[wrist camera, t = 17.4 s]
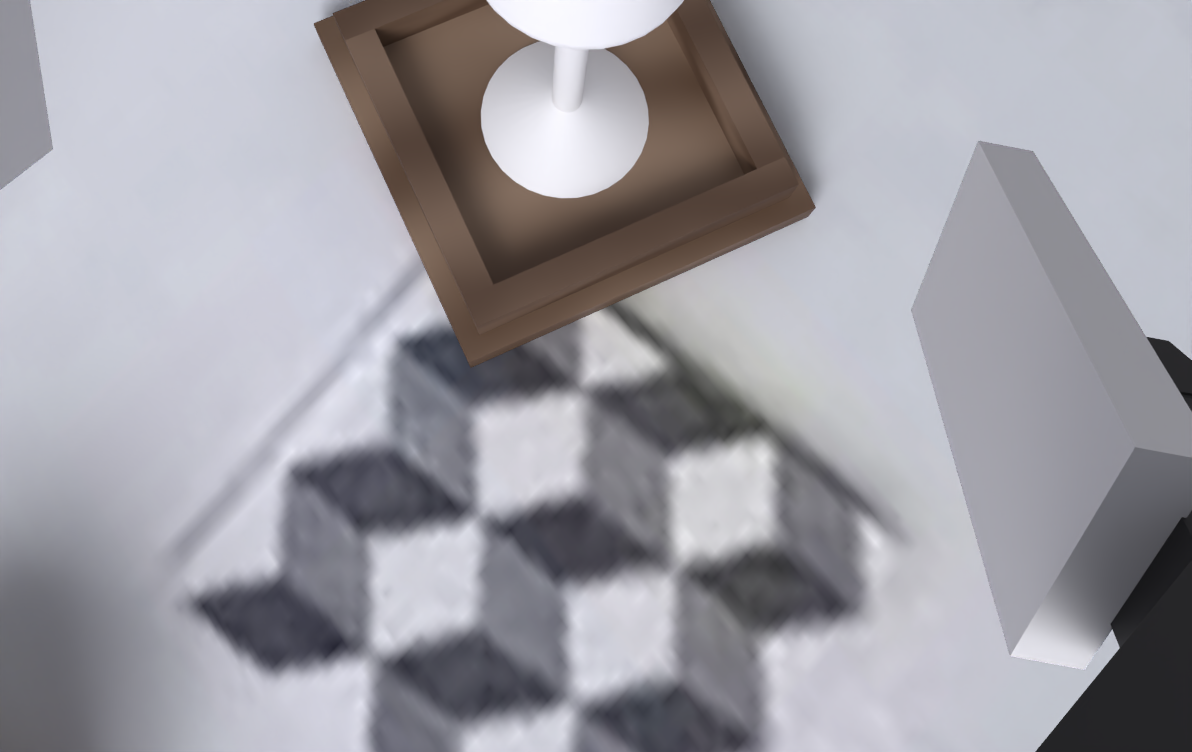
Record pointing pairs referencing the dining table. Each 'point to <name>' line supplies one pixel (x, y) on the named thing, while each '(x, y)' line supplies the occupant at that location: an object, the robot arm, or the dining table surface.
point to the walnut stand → (542, 223)
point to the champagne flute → (569, 94)
